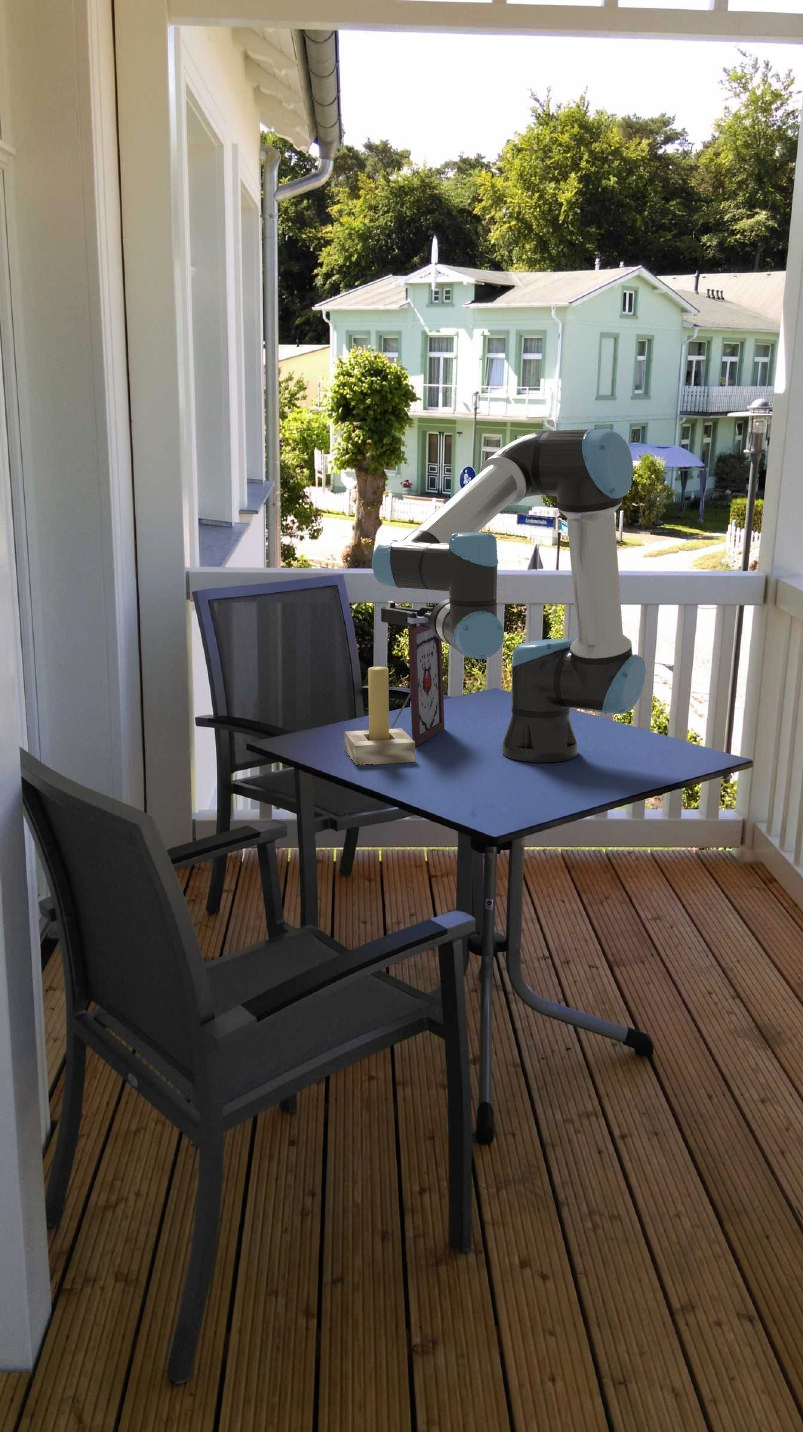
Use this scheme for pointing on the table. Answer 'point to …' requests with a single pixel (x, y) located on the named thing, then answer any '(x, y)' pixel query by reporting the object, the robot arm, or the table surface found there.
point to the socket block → (380, 747)
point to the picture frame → (425, 684)
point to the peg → (378, 703)
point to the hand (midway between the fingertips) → (425, 606)
